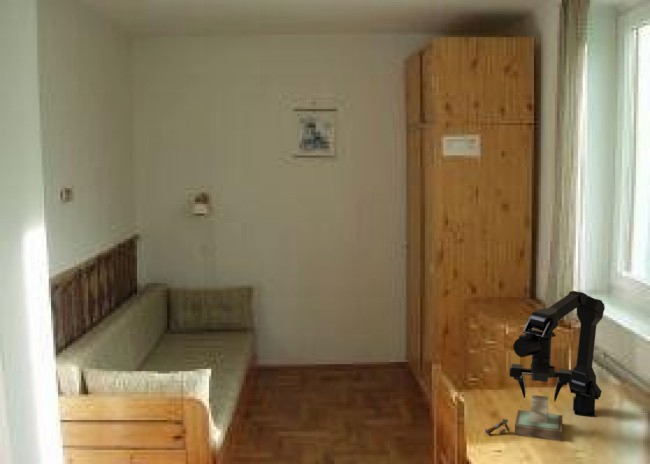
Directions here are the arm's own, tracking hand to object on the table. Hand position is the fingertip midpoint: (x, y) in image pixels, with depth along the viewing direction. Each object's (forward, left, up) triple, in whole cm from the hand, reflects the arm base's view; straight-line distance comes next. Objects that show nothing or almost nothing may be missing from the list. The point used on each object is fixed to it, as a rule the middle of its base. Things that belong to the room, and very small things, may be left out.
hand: (539, 399), depth 218 cm
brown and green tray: (0, 0, -10) cm, 10 cm away
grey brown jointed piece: (+12, +7, -10) cm, 18 cm away
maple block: (0, 0, -7) cm, 7 cm away
